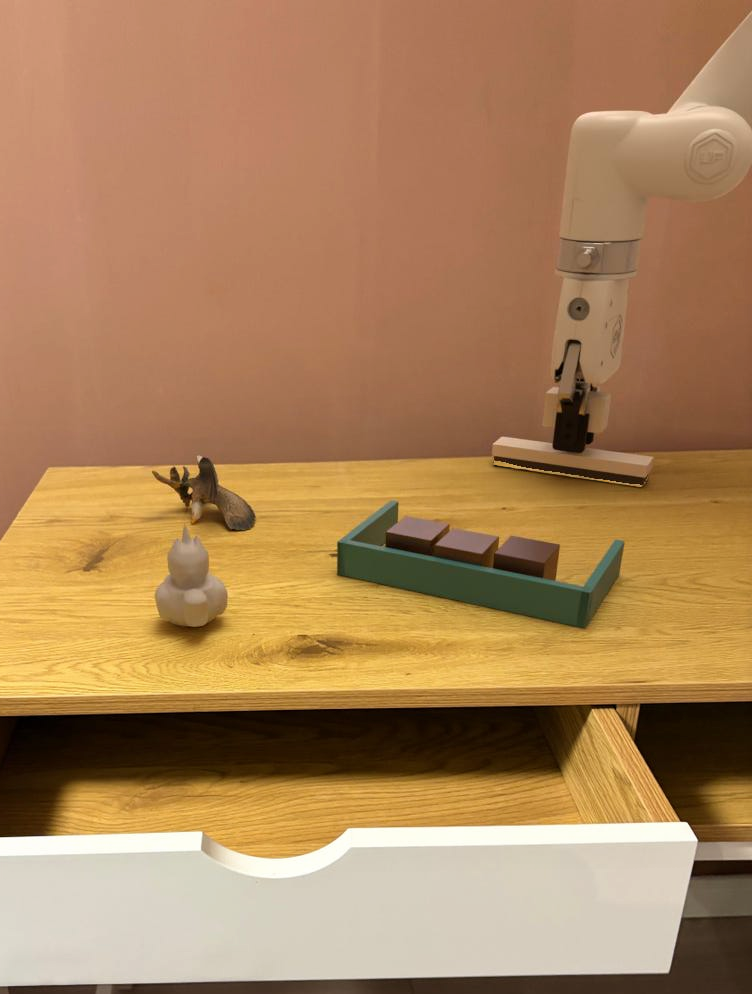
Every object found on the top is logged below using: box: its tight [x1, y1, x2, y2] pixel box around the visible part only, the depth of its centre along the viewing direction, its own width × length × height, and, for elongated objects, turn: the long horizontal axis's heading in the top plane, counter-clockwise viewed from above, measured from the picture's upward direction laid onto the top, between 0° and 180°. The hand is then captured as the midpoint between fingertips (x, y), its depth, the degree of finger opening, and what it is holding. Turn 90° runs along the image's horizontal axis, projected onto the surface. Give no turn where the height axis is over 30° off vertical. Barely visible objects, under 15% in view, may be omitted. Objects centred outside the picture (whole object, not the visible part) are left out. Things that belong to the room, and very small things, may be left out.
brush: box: [491, 386, 655, 485], centre depth 101 cm, size 16×3×8 cm, turn 60°
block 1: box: [384, 515, 451, 557], centre depth 81 cm, size 4×4×4 cm
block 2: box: [434, 527, 500, 568], centre depth 79 cm, size 4×4×4 cm
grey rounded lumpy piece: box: [154, 523, 229, 628], centre depth 73 cm, size 5×7×8 cm
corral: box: [336, 500, 626, 629], centre depth 81 cm, size 21×11×3 cm, turn 60°
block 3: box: [493, 535, 561, 581], centre depth 77 cm, size 4×4×4 cm
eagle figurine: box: [151, 454, 257, 531], centre depth 93 cm, size 8×7×9 cm
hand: (572, 444), depth 101 cm, fingers closed on brush, 2 cm apart
